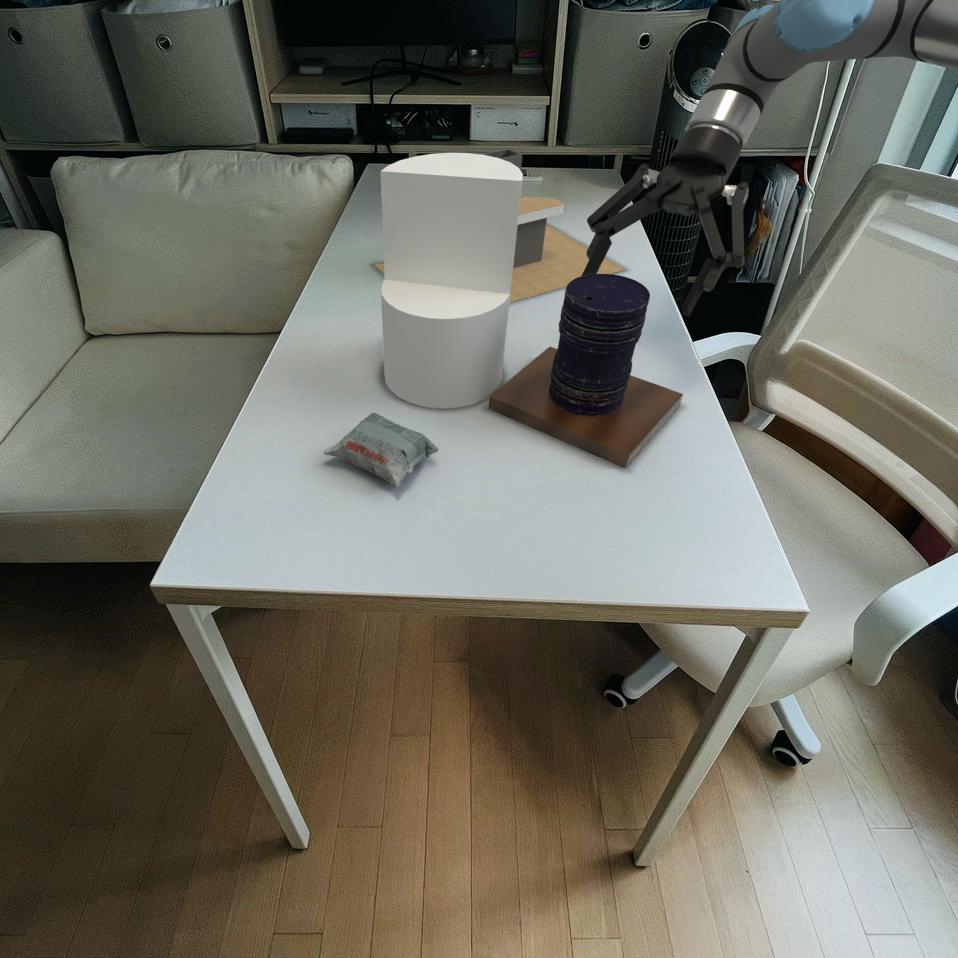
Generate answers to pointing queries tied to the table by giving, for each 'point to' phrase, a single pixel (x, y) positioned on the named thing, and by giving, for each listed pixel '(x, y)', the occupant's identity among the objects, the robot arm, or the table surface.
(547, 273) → the architectural model
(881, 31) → the robot arm
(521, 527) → the table surface
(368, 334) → the table surface
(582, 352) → the navy ribbed canister
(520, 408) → the board
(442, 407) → the cylinder
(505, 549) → the table surface
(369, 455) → the packaged food
